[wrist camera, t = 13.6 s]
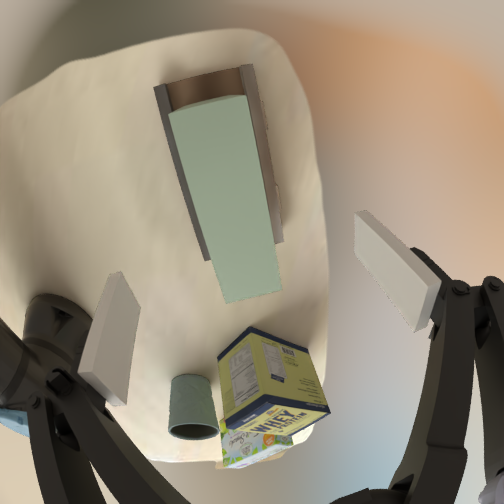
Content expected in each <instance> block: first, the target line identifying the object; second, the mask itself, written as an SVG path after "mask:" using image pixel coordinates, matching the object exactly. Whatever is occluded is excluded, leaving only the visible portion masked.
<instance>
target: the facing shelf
mask: <svg viewBox="0 0 504 504" xmlns="http://www.w3.org/2000/svg"><path fill="white" fill-rule="evenodd" d="M154 92H155V96H156V100H157V103H158V107H159V111H160V115H161V119H162V123H163V126H164V130H165V134H166V137H167V141H168V145H169V148H170V152H171V155H172V159H173V162H174V166H175V169H176V172H177V176H178V179H179V182H180V186H181V189H182V192H183V196H184V199H185V202H186V205H187V208H188V212H189V215H190V218H191V221H192V224H193V227H194V230H195V233H196V237H197V240H198V243H199V246H200V249H201V252H202V255H203V257H204V260H205V261H208V260H211V257H210V254H209V251H208V248H207V245H206V242H205V239H204V236H203V233H202V229H201V226H200V223H199V220H198V217H197V213H196V210H195V207H194V204H193V200H192V197H191V194H190V190H189V187H188V183H187V180H186V177H185V173H184V170H183V166H182V163H181V159H180V156H179V152H178V149H177V145H176V141H175V138H174V134H173V130H172V127H171V123H170V119H169V115H168V114H170V113H171V112H173V111H175V110H177V109H179V108H181V107H183V106H186V105H190V104H193V103H197V102H201V101H205V100H209V99H214V98H218V97H222V96H227V95H246V97H247V101H248V106H249V111H250V116H251V121H252V126H253V131H254V136H255V141H256V146H257V151H258V156H259V162H260V167H261V172H262V177H263V183H264V188H265V193H266V199H267V204H268V210H269V216H270V221H271V227H272V232H273V238H274V243H275V244H278V243H282V242H284V238H283V231H282V225H281V218H280V212H279V211H280V210H281V204H280V198H279V191H278V186H277V184H276V183H275V181H274V175H273V169H272V163H271V157H270V152H269V146H268V140H267V135H266V129H268V127H267V121H266V116H265V111H264V105H263V101H260V98H259V93H258V88H257V83H256V78H255V73H254V68H253V64H247V65H241V66H240V67H238V68H232V69H227V70H222V71H217V72H213V73H208V74H204V75H200V76H196V77H192V78H188V79H184V80H180V81H177V82H173V83H170V84H162V85H159V86H155V87H154Z"/></svg>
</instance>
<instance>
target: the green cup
mask: <svg viewBox="0 0 504 504" xmlns="http://www.w3.org/2000/svg"><path fill="white" fill-rule="evenodd" d="M169 409H170V410H169V412H170V415H169V426H168V432H169V433H170V434H171V435H172V436H174V437H177V438H180V439H185V440H204V439H209V438H212V437H215V436H216V435H218V434H219V432H220V429H219V425H218V421H217V418H216V412H215V407H214V402H213V399H212V391H211V386H210V382H209V381H208V380H207V379H206V378H204V377H202V376H199V375H193V374H187V375H181V376H177V377H176V378H174V379H173V380H172V383H171V395H170V407H169Z"/></svg>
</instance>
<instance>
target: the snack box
mask: <svg viewBox="0 0 504 504" xmlns="http://www.w3.org/2000/svg"><path fill="white" fill-rule="evenodd" d="M219 423H220V433H221V443H222V453H223V463H224V467H225V468H243V467H245V466H248V465H250V464H253V463H255V462H257V461H260V460H262V459H264V458H266V457H269V456H271V455H273V454H275V453H278V452H280V451H282V450H284V449H286V448H288V447H290V446H292V445H293V441H292V437H291V436H285V435H274V434H264V433H254V432H246V431H239V430H231V429H227V428H226V425H225V418H224V419H222V420H221V421H219Z"/></svg>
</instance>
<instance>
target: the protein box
mask: <svg viewBox="0 0 504 504" xmlns="http://www.w3.org/2000/svg"><path fill="white" fill-rule="evenodd" d="M217 359H218V366H219V375H220V384H221V393H222V402H223V410H224V417H225V425H226V428H227V429H231V430H239V431H246V432H254V433H264V434H274V435H285V436H292V435H294V434H295V433H297V432H299V431H301V430H303V429H305V428H306V427H308V426H310V425H312V424H314V423H315V422H317V421H319V420H320V419H322V418H324V417H325V416H327V415H329V414H331V412H330V409H329V407H328V404H327V401H326V398H325V395H324V393H323V390H322V387H321V384H320V382H319V379H318V376H317V374H316V371H315V368H314V365H313V362H312V360H311V357H310V355H309V352H308V349H306V348H303V347H300V346H298V345H295V344H292V343H290V342H287V341H285V340H282V339H280V338H277V337H275V336H272V335H270V334H267V333H265V332H263V331H260V330H258V329H255V328H253V327H249V328H248V329H247V330H246V331H244V332H243V333H242V334H241V335H240V336H239V337H238V338H237V339H236V340H235V341H234V342H233V343H232V344H231V345H230V346H229V347H228V348H227V349H226V350H225V351H224V352H222V353H221V354H220V355H219V356H218V357H217Z"/></svg>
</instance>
